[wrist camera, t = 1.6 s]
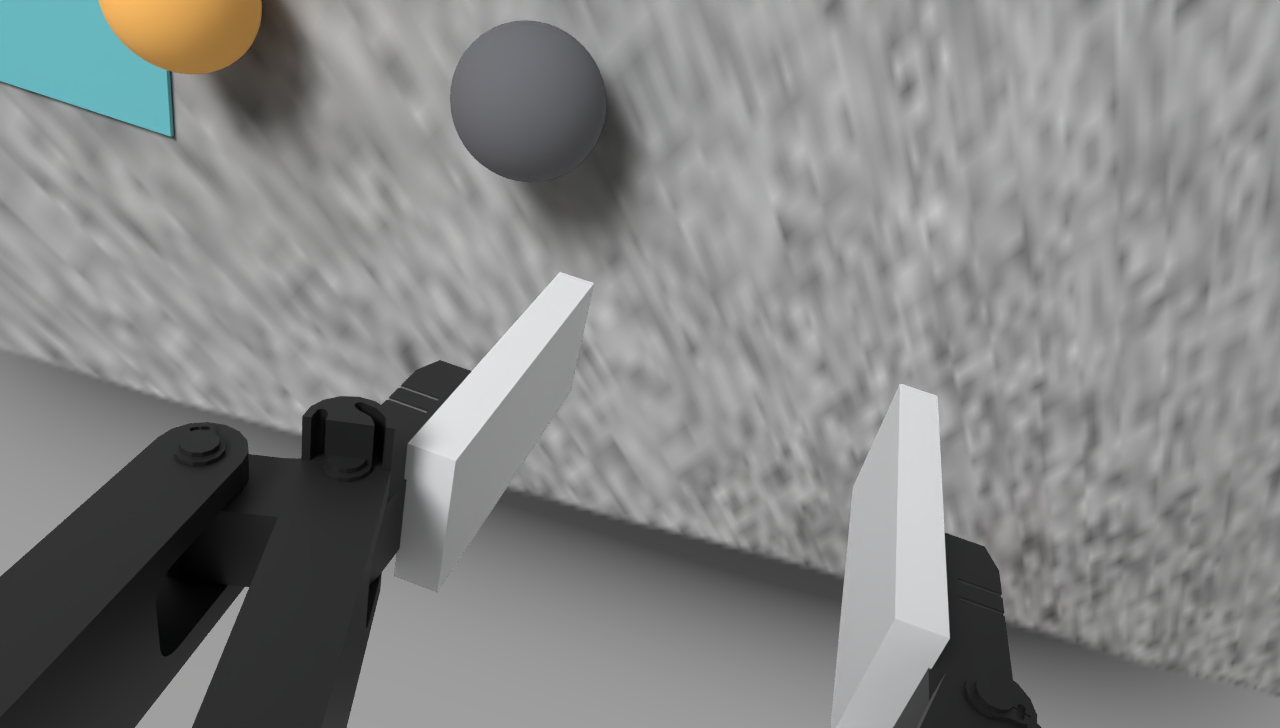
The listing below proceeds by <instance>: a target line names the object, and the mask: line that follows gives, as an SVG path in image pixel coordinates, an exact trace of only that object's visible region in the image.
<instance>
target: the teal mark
mask: <svg viewBox="0 0 1280 728" xmlns="http://www.w3.org/2000/svg"><path fill="white" fill-rule="evenodd" d="M0 81H2V82H5V83H8V84H11V85H14V86H17V87H20V88H23V89H26V90H29V91H32V92H36V93H39V94H42V95H45V96H48V97H51V98H54V99H57V100H60V101H63V102H66V103H69V104H72V105H75V106H78V107H81V108H84V109H88V110H91V111H94V112H97V113H100V114H103V115H106V116H109V117H112V118H115V119H118V120H121V121H124V122H127V123H130V124H133V125H136V126H140V127H143V128H146V129H149V130H152V131H155V132H158V133H161V134H164V135H167V136H170V137H171V136H174V130H173V113H172V97H171V80H170V71H168V70H165V69H162V68H160V67H157V66H155V65H152V64H150V63H149V62H147V61H145V60H143V59H142V58H141V57H139V56H138V55H136V54H135V53H133V52H132V51H131V50H130V49H129V48H127V47H126V46H125V45H124V44H123V43H122V42H121V40H120V39H119V38H118V37H117V36H116V34H115V33H114V32H113V30H112V29H111V27H110V26H109V24H108V23H107V21H106V19H105V17H104V15H103V12H102V10H101V7H100V4H99V0H0Z"/></svg>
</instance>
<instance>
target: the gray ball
mask: <svg viewBox="0 0 1280 728" xmlns="http://www.w3.org/2000/svg"><path fill="white" fill-rule="evenodd" d="M450 102H451V112H452V118H453V122H454V125H455V128H456V130H457V133H458V135H459V137H460V139H461V141H462V142H463V144H464V146H465V147H466V148H467V150H468V151H469V152H470V153H471V155H472V156H473V157H474V158H475V159H476V160H477V161H478V162H480V163H481V164H482V165H483V166H485V167H486V168H488V169H489V170H491V171H492V172H494V173H496V174H498V175H500V176H503V177H505V178H508V179H512V180H516V181H524V182H540V181H546V180H550V179H553V178H557V177H559V176H561V175H563V174H566V173H567V172H569V171H571V170H572V169H574V168H575V167H576V166H578V165H579V164H580V163H581V162H582V161H583V160H584V159H585V158H586V157H587V156H588V154H589V153H590V152H591V151H592V150H593V148H594V146H595V145H596V143H597V141H598V139H599V136H600V134H601V132H602V129H603V125H604V121H605V115H606V94H605V88H604V83H603V79H602V77H601V74H600V71H599V69H598V67H597V65H596V63H595V61H594V60H593V58H592V57H591V55H590V54H589V52H588V51H587V50H586V49H585V48H584V46H583V45H581V44H580V43H579V42H578V41H577V40H576V39H575V38H574V37H572V36H571V35H569V34H568V33H567V32H565V31H563V30H561V29H559V28H557V27H555V26H552V25H549V24H546V23H541V22H536V21H515V22H510V23H505V24H502V25H499V26H497V27H494V28H492V29H491V30H489V31H487V32H486V33H484V34H482V35H481V36H480V37H479V38H477V39H476V40H475V41H474V42H473V43H472V44H471V45H470V47H469V48H468V49H467V50H466V51H465V53H464V54H463V56H462V57H461V59H460V61H459V63H458V65H457V67H456V70H455V73H454V76H453V79H452V85H451V94H450Z"/></svg>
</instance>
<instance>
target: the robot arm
mask: <svg viewBox="0 0 1280 728" xmlns="http://www.w3.org/2000/svg"><path fill="white" fill-rule="evenodd" d="M593 286H594V283H592V282H589V281H586V280H583V279H580V278H577V277H574V276H570V275H567V274H564V273H561V272H559V274H558V275H557V276H556V277H555V278H554V279H553V280H552V281H551V283H550V284H549V285H548V286H547V287H546V288H545V289H544V291H543V292H542V293H541V294H540V295H539V296H538V297H537V298H536V300H535V301H534V302H533V303H532V304H531V305H530V306H529V307H528V309H527V310H526V311H525V312H524V313H523V314H522V315H521V316H520V318H519V319H518V320H517V321H516V322H515V323H514V324H513V325H512V327H511V328H510V329H509V330H508V331H507V332H506V333H505V334H504V336H503V337H502V338H501V339H500V340H499V341H498V342H497V343H496V345H495V346H494V347H493V348H492V349H491V350H490V351H489V352H488V354H487V355H486V356H485V357H484V358H483V359H482V360H481V362H480V363H479V364H478V365H477V366H476V367H475V368H474V369H473V371H470V370H467V369H464V368H461V367H458V366H455V365H452V364H449V363H447V362H444V361H441V360H439V361H437V362H435V363H432V364H430V365H427V366H425V367H422V368H420V369H418V370H416V371H415V372H414V373H413V374H412V375H411V376H410V377H409V378H408V379H407V380H406V381H405V382H404V383H403V384H402V385H401V388H398V389H397V390H396V391H395V392H394V393H393V394H392V395H391V396H390V397H389V400H386V401H385V402H384V403H383V404H382V405H380V404H379V403H377V402H375V401H372V400H369V399H365V398H361V397H346V396H340V397H335V398H330V399H325V400H322V401H321V402H319V403H317V404H315V405H313V406H311V407H310V408H309V409H308V410H307V412H306V413H305V414H304V415H303V419H302V458H300V459H289V458H277V457H268V456H260V455H251V454H248V443H247V440H246V438H245V437H244V436H243V435H242V434H241V433H240V432H239V431H237V430H235V429H233V428H231V427H229V426H227V425H222V424H216V423H209V422H206V423H193V424H192V423H190V424H187V425H183V426H180V427H176V428H173V429H171V430H169V431H168V432H166V433H164V434H163V435H161V436H159V437H158V438H157V439H156V440H154V441H153V442H152V443H151V444H150V445H149V446H148V447H147V448H145V449H144V450H143V451H142V452H141V453H140V454H139V455H137V456H136V457H135V458H134V459H133V460H132V461H131V462H130V463H128V464H127V465H126V466H125V467H124V468H123V469H122V470H121V471H119V472H118V473H117V474H116V475H115V476H114V477H113V478H111V479H110V480H109V481H108V482H107V483H106V484H105V485H104V486H102V487H101V488H100V489H99V490H98V491H97V492H96V493H94V494H93V495H92V496H91V497H90V498H89V499H88V500H87V501H85V502H84V503H83V504H82V505H81V506H80V507H79V508H77V509H76V510H75V511H74V512H73V513H72V514H71V515H70V516H69V517H67V518H66V519H65V520H64V521H63V522H62V523H61V524H59V525H58V526H57V527H56V528H55V529H54V530H53V531H51V532H50V533H49V534H48V535H47V536H46V537H45V538H44V539H42V540H41V541H40V542H39V543H38V544H37V545H36V546H35V547H34V548H32V549H31V550H30V551H29V552H28V553H27V554H25V556H23V557H22V558H21V559H20V560H19V561H18V562H16V563H15V564H14V565H13V566H12V567H11V568H10V569H9V570H7V571H6V572H5V573H4V574H3V575H2V576H1V577H0V728H135V726H136V725H137V724H138V723H139V721H140V720H141V719H142V717H143V716H144V715H145V714H146V712H147V711H148V710H149V708H150V707H151V706H152V705H153V703H154V702H155V701H156V700H157V698H158V697H159V696H160V694H161V693H162V692H163V691H164V689H165V688H166V687H167V686H168V684H169V683H170V682H171V680H172V679H173V678H174V677H175V675H176V674H177V673H178V672H179V670H180V669H181V668H182V666H183V665H184V664H185V662H186V661H187V660H188V659H189V657H190V656H191V655H192V653H193V652H194V651H195V650H196V648H197V647H198V646H199V645H200V643H201V642H202V641H203V640H204V638H205V637H206V636H207V634H208V633H209V632H210V631H211V629H212V628H213V627H214V626H215V624H216V623H217V622H218V620H219V619H220V618H221V616H222V615H223V614H224V613H225V611H226V610H227V609H228V607H229V606H230V605H231V604H232V602H233V601H234V600H235V599H236V597H237V596H238V595H239V594H240V592H241V591H242V590H243V588H244V587H249V590H248V592H247V594H246V597H245V599H244V602H243V605H242V607H241V609H240V612H239V614H238V616H237V619H236V622H235V624H234V626H233V629H232V631H231V634H230V636H229V639H228V641H227V643H226V646H225V648H224V651H223V653H222V656H221V658H220V661H219V663H218V665H217V668H216V671H215V673H214V675H213V678H212V680H211V683H210V685H209V687H208V690H207V692H206V695H205V697H204V700H203V702H202V704H201V707H200V710H199V712H198V714H197V717H196V719H195V722H194V724H193V727H192V728H347V723H348V719H349V715H350V711H351V707H352V703H353V699H354V694H355V691H356V686H357V683H358V679H359V674H360V670H361V666H362V662H363V658H364V654H365V650H366V646H367V641H368V638H369V634H370V629H371V625H372V621H373V617H374V613H375V609H376V605H377V601H378V597H379V593H380V586H381V574H382V571H383V570H384V568H385V567H386V566H387V564H388V563H389V562H390V560H391V559H392V558H393V556H394V555H395V554H396V563H395V573H394V576H396V577H398V578H401V579H404V580H407V581H409V582H411V583H414V584H417V585H419V586H422V587H425V588H427V589H430V590H433V591H435V592H438V591H439V589H440V587H441V586H442V584H443V583H444V582H445V580H446V578H447V577H448V575H449V574H450V572H451V571H452V569H453V568H454V566H455V565H456V563H457V562H458V560H459V559H460V557H461V556H462V554H463V553H464V551H465V550H466V548H467V547H468V545H469V544H470V542H471V541H472V539H473V538H474V536H475V535H476V533H477V532H478V530H479V529H480V527H481V526H482V524H483V523H484V521H485V520H486V518H487V516H488V515H489V514H490V512H491V510H492V509H493V507H494V506H495V504H496V503H497V501H498V500H499V498H500V497H501V495H502V493H503V492H504V491H505V489H506V488H507V486H508V485H509V483H510V482H511V480H512V479H513V477H514V476H515V474H516V473H517V471H518V470H519V468H520V467H521V465H522V464H523V462H524V461H525V459H526V458H527V456H528V455H529V453H530V452H531V450H532V449H533V447H534V445H535V444H536V442H537V441H538V439H539V438H540V436H541V435H542V433H543V432H544V430H545V429H546V427H547V426H548V424H549V423H550V421H551V420H552V418H553V417H554V415H555V414H556V412H557V411H558V409H559V408H560V406H561V405H562V403H563V402H564V400H565V399H566V397H567V396H568V394H569V393H570V391H571V388H572V383H573V378H574V374H575V369H576V365H577V360H578V355H579V351H580V346H581V342H582V337H583V332H584V328H585V323H586V318H587V314H588V309H589V305H590V300H591V295H592V291H593ZM1001 594H1002V591H1001V583H1000V575H999V570H998V568H997V567H996V565H995V563H994V562H993V560H992V558H991V557H990V555H989V553H988V552H987V550H986V548H985V547H984V546H981V545H979V544H976V543H973V542H970V541H967V540H964V539H961V538H958V537H955V536H952V535H950V534H947V533H944V514H943V494H942V475H941V455H940V435H939V416H938V396H936V395H933V394H930V393H927V392H924V391H921V390H918V389H915V388H912V387H909V386H906V385H903V384H900V385H899V387H898V389H897V391H896V394H895V396H894V398H893V400H892V402H891V405H890V407H889V409H888V411H887V413H886V416H885V418H884V420H883V422H882V425H881V427H880V429H879V431H878V433H877V436H876V438H875V440H874V442H873V444H872V447H871V449H870V451H869V453H868V455H867V458H866V460H865V462H864V464H863V467H862V469H861V471H860V473H859V475H858V478H857V480H856V482H855V484H854V486H853V493H852V504H851V514H850V525H849V535H848V546H847V556H846V567H845V578H844V588H843V599H842V610H841V620H840V630H839V641H838V651H837V662H836V673H835V683H834V695H833V705H832V715H831V726H830V728H1041V727H1040V726H1039V725H1038V724H1037V714H1036V712H1035V709H1034V707H1033V705H1032V702H1031V700H1030V698H1029V697H1028V696H1027V695H1026V693H1025V692H1024V691H1023V690H1022V689H1021V688H1020V686H1019V685H1018V684H1017V683H1016V682H1015V681H1013V678H1012V670H1011V662H1010V654H1009V646H1008V639H1007V630H1006V622H1005V616H1003V613H1004V607H1003V599H1002V598H1001Z"/></svg>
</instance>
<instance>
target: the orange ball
mask: <svg viewBox="0 0 1280 728" xmlns="http://www.w3.org/2000/svg"><path fill="white" fill-rule="evenodd" d="M99 4H100V7H101V10H102V12H103V15H104V17H105V19H106V21H107V23H108V24H109V26H110V27H111V29H112V30H113V32H114V33H115V34H116V36H117V37H118V38H119V39H120V40H121V42H122V43H123V44H124V45H125V46H126V47H127V48H129V49H130V50H131V51H132V52H133V53H135V54H136V55H138V56H139V57H141V58H142V59H143V60H145V61H147V62H149V63H150V64H152V65H155V66H157V67H160V68H162V69H165V70H168V71H172V72H176V73H181V74H205V73H210V72H214V71H218V70H220V69H223V68H225V67H227V66H229V65H231V64H232V63H234V62H235V61H237V60H238V59H240V58H241V57H242V56H243V55H244V54H245V53H246V51H247V50H248V49H249V48H250V46H251V45H252V43H253V41H254V39H255V37H256V35H257V33H258V30H259V27H260V22H261V15H262V1H261V0H99Z"/></svg>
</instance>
